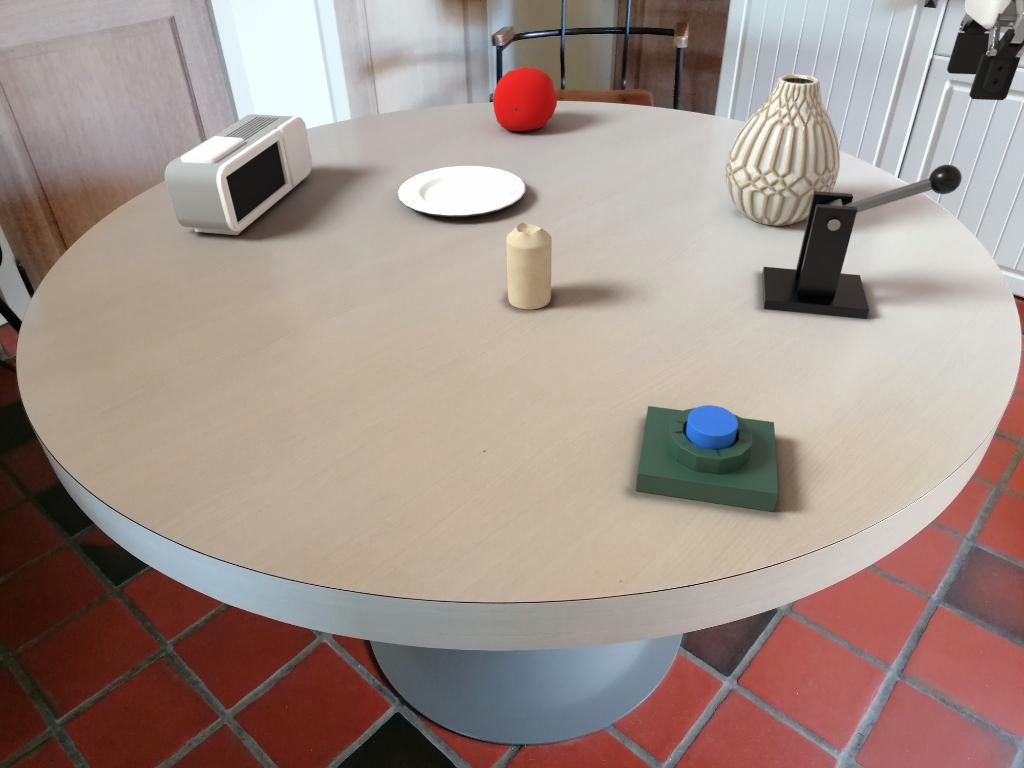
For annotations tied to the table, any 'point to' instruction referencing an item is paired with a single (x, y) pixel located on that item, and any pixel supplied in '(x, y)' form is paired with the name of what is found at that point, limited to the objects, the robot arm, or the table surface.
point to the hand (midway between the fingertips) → (974, 85)
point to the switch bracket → (820, 266)
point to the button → (711, 427)
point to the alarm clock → (238, 173)
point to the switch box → (708, 462)
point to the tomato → (524, 99)
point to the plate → (461, 191)
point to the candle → (529, 266)
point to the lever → (911, 189)
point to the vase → (784, 154)
